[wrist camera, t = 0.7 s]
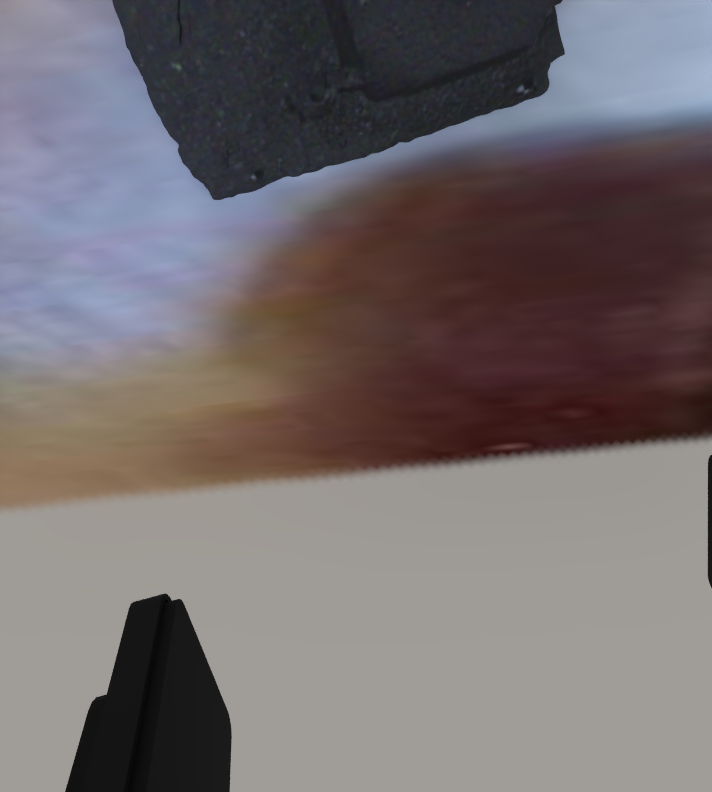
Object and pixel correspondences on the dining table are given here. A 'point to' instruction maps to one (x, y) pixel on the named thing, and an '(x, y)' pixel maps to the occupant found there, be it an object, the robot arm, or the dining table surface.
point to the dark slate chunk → (328, 76)
